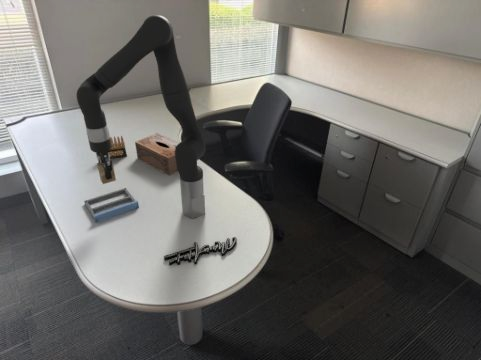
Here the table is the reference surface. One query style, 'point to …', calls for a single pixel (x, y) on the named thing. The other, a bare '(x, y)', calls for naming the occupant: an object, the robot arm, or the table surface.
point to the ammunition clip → (117, 148)
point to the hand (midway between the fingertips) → (107, 176)
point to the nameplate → (194, 254)
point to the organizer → (113, 211)
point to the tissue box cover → (158, 152)
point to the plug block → (102, 173)
